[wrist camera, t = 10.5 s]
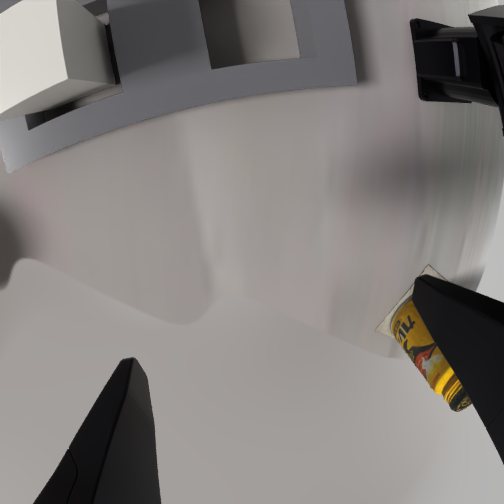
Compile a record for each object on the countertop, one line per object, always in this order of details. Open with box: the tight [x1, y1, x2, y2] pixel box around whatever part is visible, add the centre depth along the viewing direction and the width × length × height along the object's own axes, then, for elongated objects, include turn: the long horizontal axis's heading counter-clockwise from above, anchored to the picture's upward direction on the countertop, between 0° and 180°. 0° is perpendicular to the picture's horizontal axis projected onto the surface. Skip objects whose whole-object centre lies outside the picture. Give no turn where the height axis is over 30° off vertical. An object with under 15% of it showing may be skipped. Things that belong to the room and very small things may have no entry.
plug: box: [0, 0, 116, 121], centre depth 10 cm, size 4×4×8 cm
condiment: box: [375, 265, 472, 412], centre depth 24 cm, size 7×8×12 cm
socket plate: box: [0, 0, 357, 173], centre depth 10 cm, size 20×12×6 cm, turn 99°
